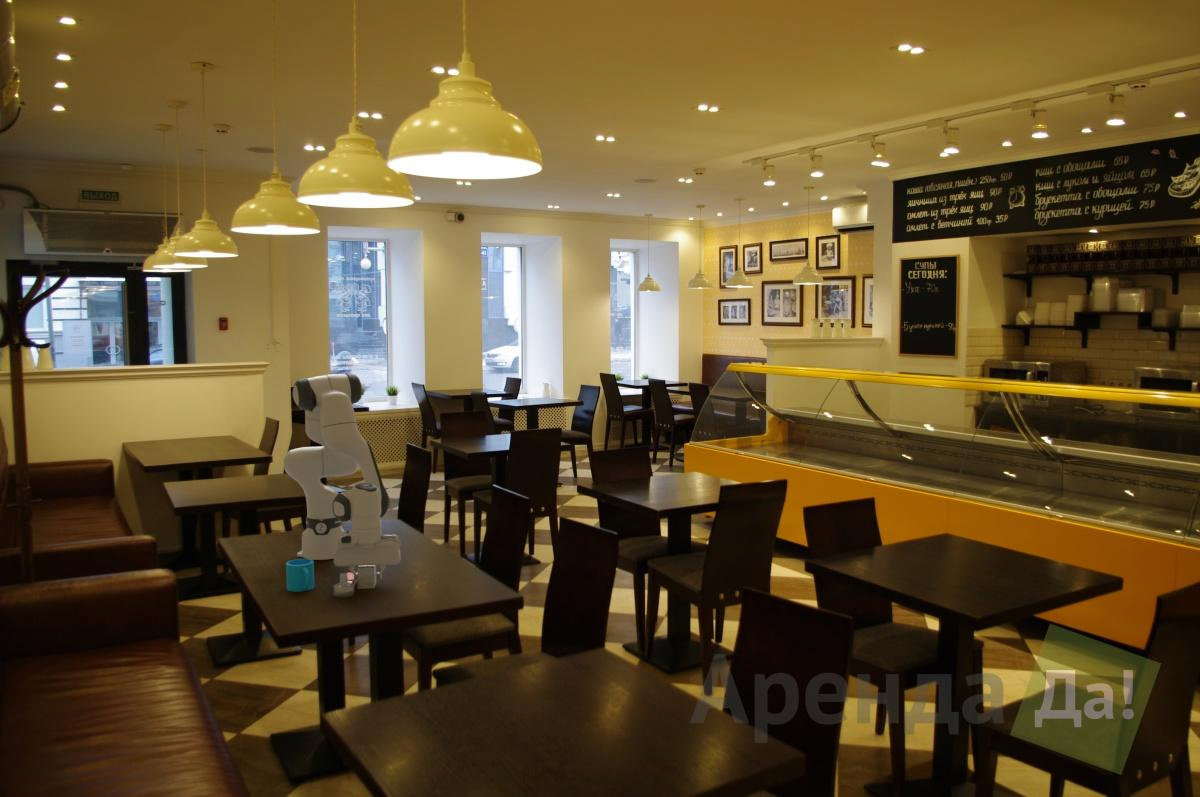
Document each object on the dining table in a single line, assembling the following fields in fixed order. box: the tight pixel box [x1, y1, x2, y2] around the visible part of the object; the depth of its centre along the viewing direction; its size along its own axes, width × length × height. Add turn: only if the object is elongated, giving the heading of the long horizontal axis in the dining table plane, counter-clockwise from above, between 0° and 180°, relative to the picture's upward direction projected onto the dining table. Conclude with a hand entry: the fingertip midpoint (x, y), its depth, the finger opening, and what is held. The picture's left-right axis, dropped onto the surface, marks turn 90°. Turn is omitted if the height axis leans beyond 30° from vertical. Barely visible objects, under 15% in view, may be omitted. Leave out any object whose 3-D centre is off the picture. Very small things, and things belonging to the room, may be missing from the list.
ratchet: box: [333, 571, 358, 599], centre depth 278 cm, size 18×6×6 cm, turn 6°
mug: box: [285, 558, 315, 593], centre depth 277 cm, size 12×8×8 cm
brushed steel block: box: [356, 565, 377, 590], centre depth 281 cm, size 5×5×6 cm
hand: (367, 578), depth 280 cm, fingers open, 6 cm apart
